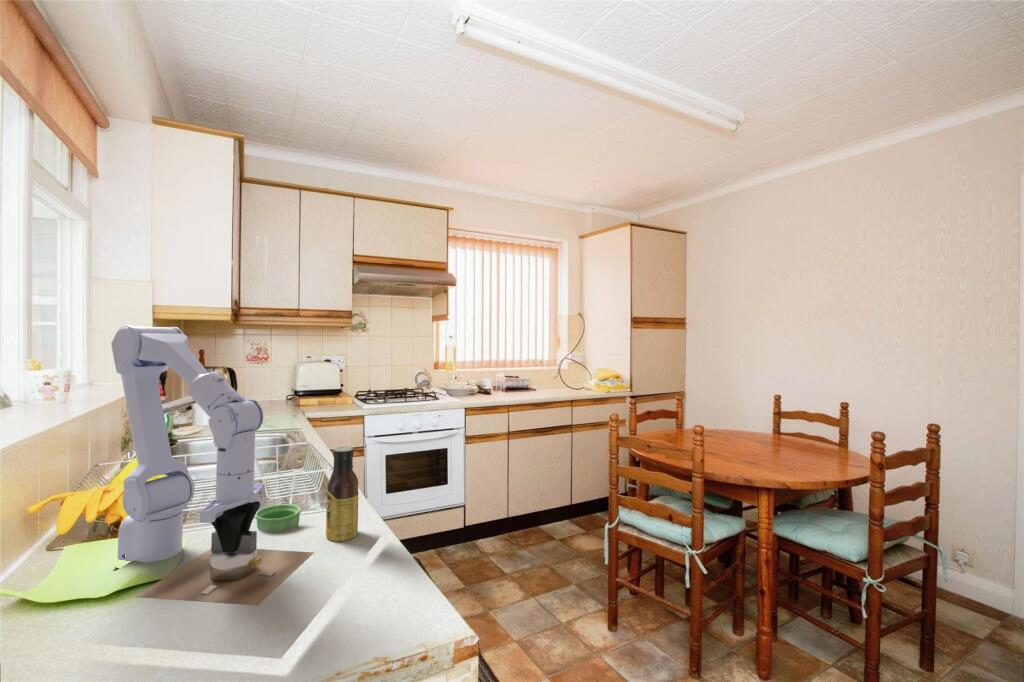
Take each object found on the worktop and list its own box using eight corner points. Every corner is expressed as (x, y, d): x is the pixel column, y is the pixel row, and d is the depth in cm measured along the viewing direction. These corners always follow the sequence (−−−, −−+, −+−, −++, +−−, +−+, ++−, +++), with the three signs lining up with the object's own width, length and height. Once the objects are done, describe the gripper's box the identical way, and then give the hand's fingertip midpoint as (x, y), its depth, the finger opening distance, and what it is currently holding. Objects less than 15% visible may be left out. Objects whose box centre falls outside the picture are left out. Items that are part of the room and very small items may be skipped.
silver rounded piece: (200, 579, 80) (200, 539, 80) (227, 559, 87) (228, 523, 87) (245, 582, 80) (246, 542, 80) (269, 562, 87) (270, 525, 87)
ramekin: (304, 534, 104) (304, 514, 104) (257, 543, 99) (258, 522, 98) (296, 520, 111) (296, 501, 111) (252, 528, 106) (253, 508, 106)
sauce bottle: (330, 536, 103) (332, 444, 102) (360, 536, 103) (362, 444, 103) (321, 550, 96) (323, 451, 96) (353, 549, 97) (355, 451, 96)
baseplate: (135, 605, 75) (135, 595, 75) (214, 553, 93) (214, 545, 93) (257, 614, 74) (257, 603, 74) (313, 560, 92) (313, 551, 92)
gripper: (230, 484, 76) (228, 569, 76) (280, 460, 90) (279, 532, 90) (187, 482, 76) (186, 567, 76) (244, 459, 91) (243, 530, 91)
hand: (234, 548), depth 83 cm, fingers closed
